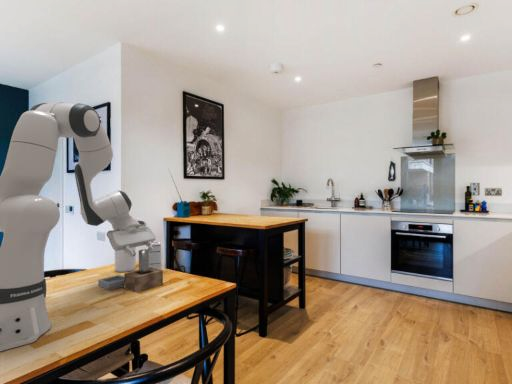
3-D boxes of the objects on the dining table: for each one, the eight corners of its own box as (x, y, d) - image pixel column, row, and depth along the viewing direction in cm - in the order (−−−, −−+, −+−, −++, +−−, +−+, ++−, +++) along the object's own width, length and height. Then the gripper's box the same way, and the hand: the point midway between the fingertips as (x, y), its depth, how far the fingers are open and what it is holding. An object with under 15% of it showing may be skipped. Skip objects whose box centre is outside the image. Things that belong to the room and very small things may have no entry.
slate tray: (109, 290, 120) (109, 283, 120) (98, 285, 125) (98, 279, 125) (130, 284, 127) (130, 278, 127) (118, 280, 132) (118, 274, 132)
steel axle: (142, 288, 122) (142, 251, 122) (136, 286, 124) (136, 250, 124) (151, 286, 125) (150, 250, 125) (145, 284, 127) (145, 249, 127)
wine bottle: (134, 271, 146) (134, 210, 146) (113, 273, 144) (112, 210, 143) (136, 266, 155) (136, 209, 155) (116, 268, 153) (116, 209, 152)
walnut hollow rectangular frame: (136, 292, 117) (136, 277, 117) (124, 288, 122) (124, 273, 122) (162, 284, 127) (162, 270, 127) (150, 280, 132) (150, 267, 132)
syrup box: (161, 273, 143) (161, 243, 143) (148, 274, 141) (148, 244, 141) (160, 270, 149) (160, 241, 148) (148, 271, 146) (148, 242, 146)
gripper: (108, 226, 118) (125, 253, 114) (148, 221, 137) (164, 244, 133) (101, 236, 121) (117, 263, 116) (141, 230, 139) (156, 253, 135)
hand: (143, 253), depth 125 cm, fingers open, 8 cm apart
